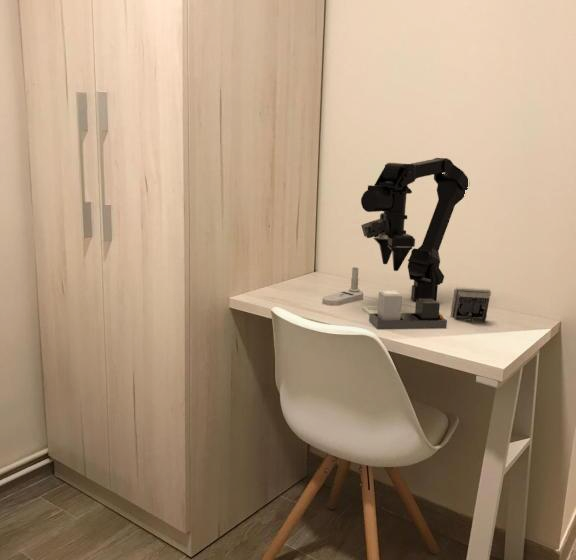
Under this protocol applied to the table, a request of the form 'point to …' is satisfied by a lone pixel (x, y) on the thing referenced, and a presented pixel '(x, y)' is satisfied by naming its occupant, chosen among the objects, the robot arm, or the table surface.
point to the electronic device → (345, 293)
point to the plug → (389, 306)
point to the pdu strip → (414, 317)
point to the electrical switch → (470, 304)
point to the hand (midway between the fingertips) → (390, 267)
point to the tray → (370, 309)
